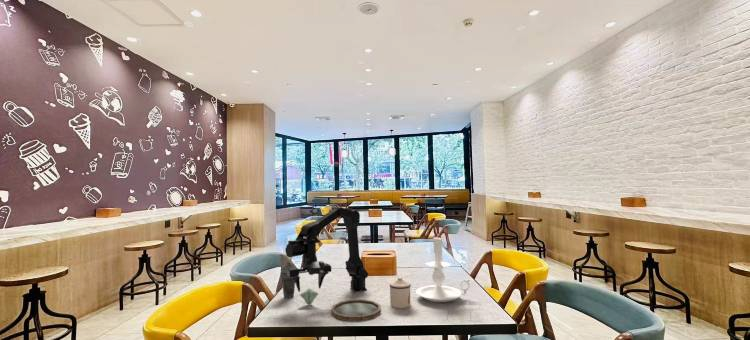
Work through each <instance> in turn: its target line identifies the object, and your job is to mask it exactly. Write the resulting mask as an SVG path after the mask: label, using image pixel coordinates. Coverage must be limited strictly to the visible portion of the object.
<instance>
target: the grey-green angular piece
mask: <svg viewBox="0 0 750 340" xmlns="http://www.w3.org/2000/svg"><path fill="white" fill-rule="evenodd" d="M299 296H300V297H301V298H302V299H303V300H304V302H305V304H306V305H312V304H313V303H314V301H315V299H316V298H317V297H318V296H319V293H318V291H315V290H313V289H312V288H307V289H306V290H305V291H303V292H300V294H299Z"/></svg>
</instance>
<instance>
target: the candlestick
mask: <svg viewBox="0 0 750 340" xmlns="http://www.w3.org/2000/svg"><path fill="white" fill-rule="evenodd" d="M433 253H434V261H428V262H425V265H426V266H427V267H431V268H433V269H434V271H433V273H432V274H431V278H432V281H433V283H435V284H433V285H432V284H431V285H425V286H421V287H418V288H417V289H416V290H415V293H416V294H417V295H418V296H419V297H421V298H423V299H424V300H427V301H430V302H434V303H435V302H436V303H446V302H452V301H454V300H456V299H457V298H460V297H462V296H463V295H464V296H465V295H466V294H467V291H468V290H469V288H470V281H471V279H462V280H461V281H459V285H458V286H459V288H460V289H461V290H460V289H458V288H456V287H452V286H448V285H447V286H446V285H442V284H443V283H444V282H445V279H446V276H445V273H444V272H443V269H444V268H447V267H450V266H451V265H452V264H451V263H449V262H446V261H442V260H443V238H441V237H439V236H438V237H437V236H435V237H433ZM463 283H467V286H466V287H465V288H464V287H462V284H463ZM462 291H463V292H462Z"/></svg>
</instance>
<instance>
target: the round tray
mask: <svg viewBox="0 0 750 340" xmlns="http://www.w3.org/2000/svg"><path fill="white" fill-rule="evenodd" d="M381 306H382V305H381V304H379V303H378V302H376V301H374V300H368V299H363V298H361V299H359V298H358V299H347V300H342V301H339V302H337V303H336V304H335V303H334V304H333V305H332V307H331V309H330V314H331V315H332V316H333V317H334V318H335V319H337V320H342V321H345V322H360V321H361V322H362V320H363V321H367V320H366V319H368V320H371V319H374V318H377V317H378V316H379V315H380V314H382V313H381V312H382V310H381Z"/></svg>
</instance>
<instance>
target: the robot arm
mask: <svg viewBox="0 0 750 340" xmlns="http://www.w3.org/2000/svg"><path fill="white" fill-rule="evenodd" d="M360 217H361V215H360V212H359V211H358V210H356V209H355V210H354V209H353V210H352V209H347V208H344V207H342V206H335V207H333V208H332V209H331V210H330V211H328V212H327V213H325V214H324V215H323V216H321V217H320V218H318V219H316V220H315V221H311V222H309V223H306V224H304V225H302V227H301V228H300V231H299V233H298V235H297V236H296V238H295V239H294V240H288V242H287V244H286V246H285V254H286V257H287V258H290V257H292V258H293V257H300V256H301V258H302V265H301V267H302V268H298V267H296V266H295V267H293V268H288V269H287V275H288V276H289V277H291V278H292V279H294V281H295V287H296V289H297V291H298V292H299V293H301V284H300V283H301V282H300V278H301V276H300V274H304V273H308V275H310V276H313V275H318V276H317V277H318V283H317V284H318V289H321V287H322V284H323V282H324V279H325V277H326V276H327V275H328V274H329V273H331V272H332V266H331V264H329V263H326V262H325V261H324V260H320V261H318V257H317V244H319V243H321V241H320V239H318V236H319V235H320V234H321V233H322V231H323V229H324V228H325V227H327V226H328V225H330V224H331V223H332V222H334V221H335V220H337V219H338V218H342V221H343V224H344V225H345V227H346V230H347V243H348V259H347V260H345V261H344V262H345V270H346V272H347V273H348V275H349V277H351V278H350V279H351V280H350V287H349V289H350V290H352V292H353V291H354V292H355V293H357V292H362V291H363V292H364V291H367V290H368V288H366V279H367V278H368V276H369V272H368V271H367V269H365V266H364V262H363V260H362V258H361V257H360V246H359V233H358V227H359V224H360V222H361V221H360V219H361V218H360Z"/></svg>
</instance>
